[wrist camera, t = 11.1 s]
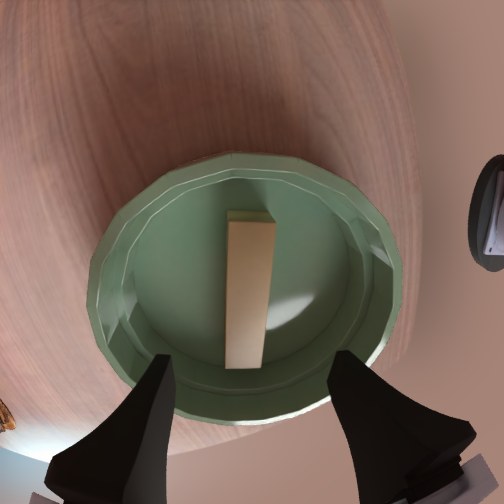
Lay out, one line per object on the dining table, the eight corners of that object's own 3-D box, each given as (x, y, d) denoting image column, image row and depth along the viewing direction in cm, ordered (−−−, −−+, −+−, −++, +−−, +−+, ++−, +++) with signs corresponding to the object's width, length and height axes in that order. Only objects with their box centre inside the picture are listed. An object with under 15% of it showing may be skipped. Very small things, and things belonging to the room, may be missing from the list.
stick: (269, 210, 15) (277, 222, 13) (256, 345, 18) (261, 368, 16) (227, 209, 14) (228, 220, 12) (223, 346, 18) (224, 369, 16)
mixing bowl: (378, 166, 15) (431, 179, 10) (334, 365, 20) (355, 411, 16) (111, 152, 13) (66, 159, 8) (138, 367, 19) (125, 419, 14)
